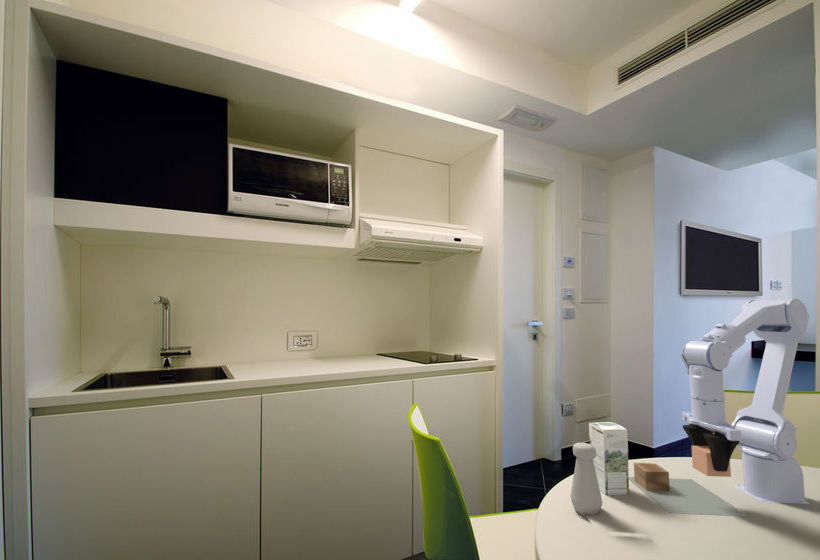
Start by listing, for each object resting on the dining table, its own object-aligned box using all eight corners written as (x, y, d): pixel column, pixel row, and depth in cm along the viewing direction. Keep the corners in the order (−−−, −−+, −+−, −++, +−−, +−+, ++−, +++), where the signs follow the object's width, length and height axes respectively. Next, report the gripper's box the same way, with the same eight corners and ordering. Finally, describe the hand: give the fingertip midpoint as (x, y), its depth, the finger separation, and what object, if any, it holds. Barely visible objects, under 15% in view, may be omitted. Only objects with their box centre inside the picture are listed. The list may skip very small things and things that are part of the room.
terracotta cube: (714, 467, 82) (713, 446, 83) (731, 476, 78) (729, 453, 78) (692, 467, 82) (691, 445, 83) (707, 476, 78) (706, 453, 78)
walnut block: (656, 481, 90) (655, 463, 91) (669, 491, 85) (668, 472, 86) (634, 480, 91) (633, 462, 91) (646, 490, 86) (645, 471, 86)
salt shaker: (596, 505, 80) (594, 440, 81) (607, 520, 74) (605, 449, 75) (566, 503, 80) (565, 439, 81) (575, 518, 75) (573, 448, 76)
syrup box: (612, 485, 89) (610, 420, 91) (630, 497, 84) (627, 428, 85) (589, 486, 89) (587, 421, 90) (606, 498, 83) (603, 428, 84)
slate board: (691, 481, 92) (691, 479, 92) (749, 519, 75) (749, 516, 75) (626, 479, 93) (625, 476, 93) (668, 516, 76) (668, 512, 76)
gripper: (667, 391, 89) (670, 452, 88) (712, 406, 74) (716, 480, 73) (699, 392, 88) (702, 453, 87) (750, 407, 74) (756, 481, 73)
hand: (711, 465), depth 80 cm, fingers closed on terracotta cube, 4 cm apart
